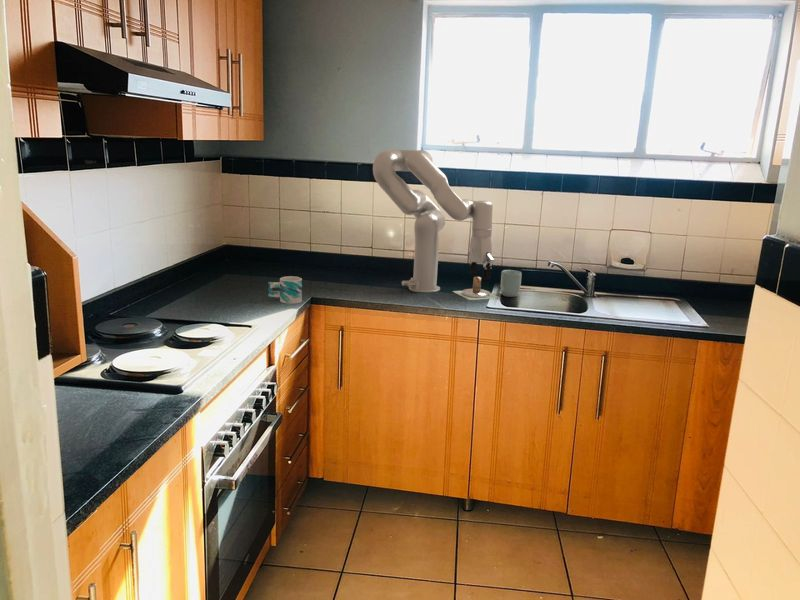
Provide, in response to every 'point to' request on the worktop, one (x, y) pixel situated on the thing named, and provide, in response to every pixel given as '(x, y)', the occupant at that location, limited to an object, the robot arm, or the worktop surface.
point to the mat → (475, 298)
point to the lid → (476, 290)
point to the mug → (287, 289)
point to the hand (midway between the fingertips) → (480, 276)
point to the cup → (510, 283)
